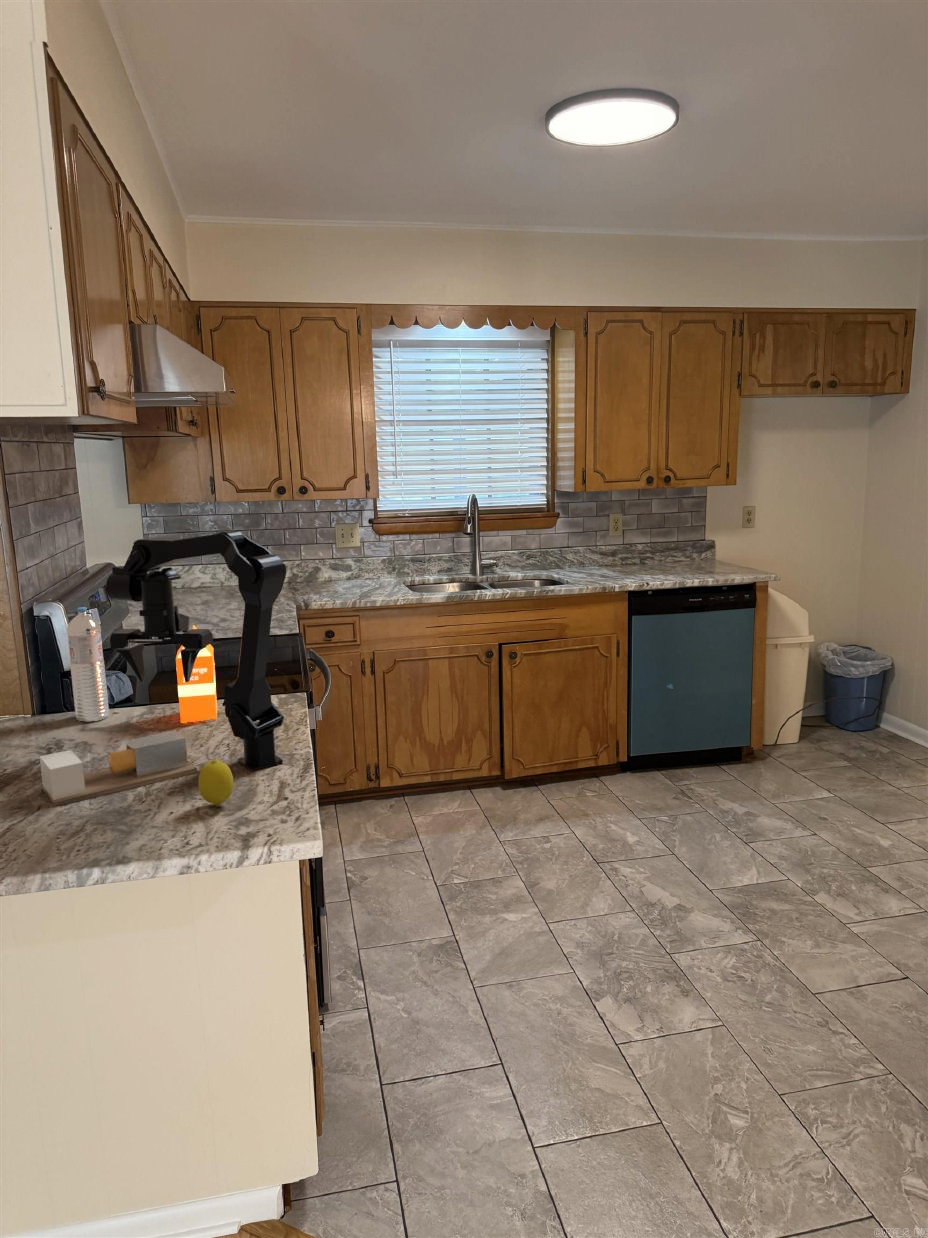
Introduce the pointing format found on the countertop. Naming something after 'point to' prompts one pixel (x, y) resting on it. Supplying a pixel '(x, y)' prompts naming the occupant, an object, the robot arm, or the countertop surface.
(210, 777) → the lemon
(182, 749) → the steel sleeve
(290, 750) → the countertop surface
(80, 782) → the white socket
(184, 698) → the orange juice
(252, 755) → the robot arm
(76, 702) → the water bottle
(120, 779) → the walnut board
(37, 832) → the countertop surface
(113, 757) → the orange tube
